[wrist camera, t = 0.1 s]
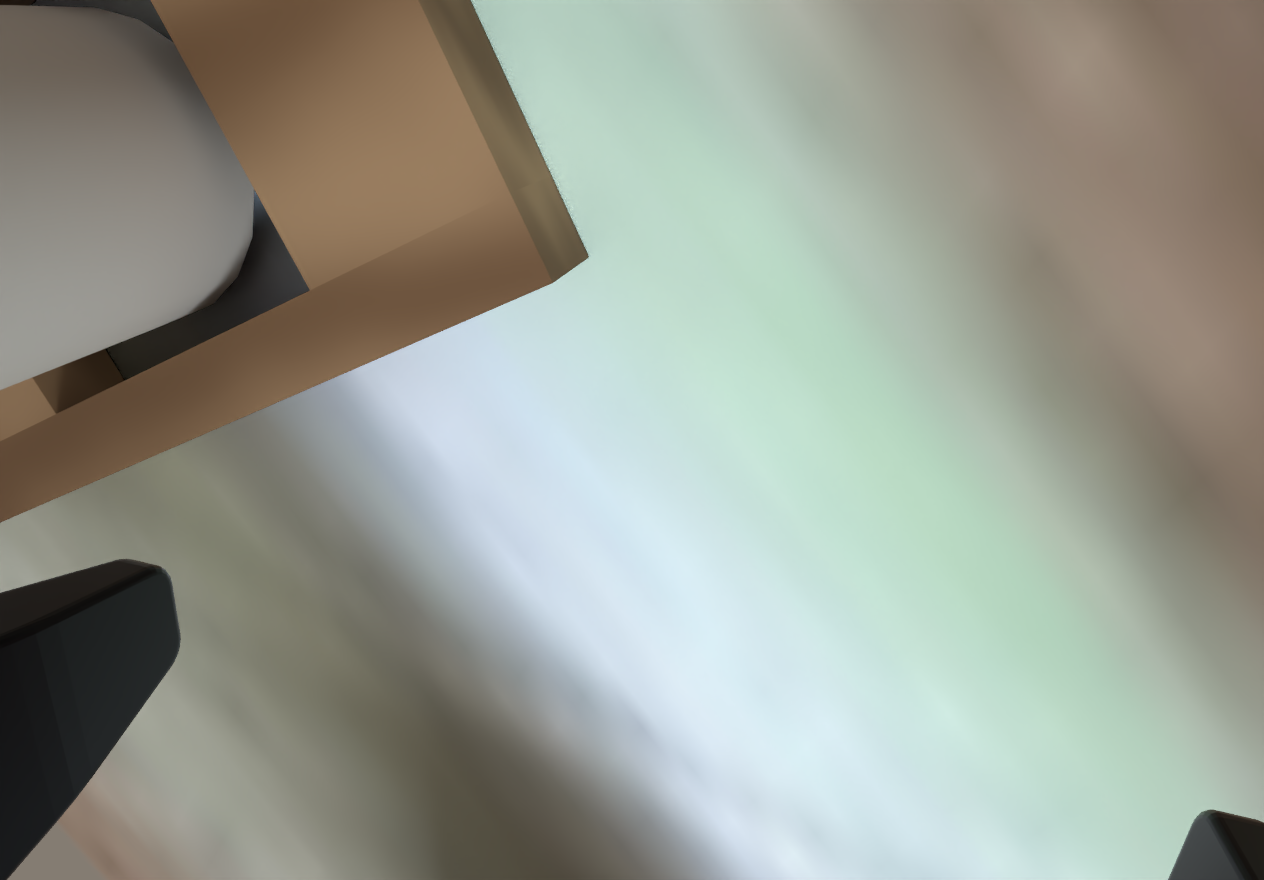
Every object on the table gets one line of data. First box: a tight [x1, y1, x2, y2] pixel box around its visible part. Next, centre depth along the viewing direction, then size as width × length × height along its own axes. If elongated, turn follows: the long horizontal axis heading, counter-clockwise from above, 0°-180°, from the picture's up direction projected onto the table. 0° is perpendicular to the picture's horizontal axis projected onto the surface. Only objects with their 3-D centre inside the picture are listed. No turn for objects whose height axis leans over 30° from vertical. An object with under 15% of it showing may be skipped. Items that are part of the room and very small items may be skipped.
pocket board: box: [0, 0, 589, 522], centre depth 23 cm, size 14×20×2 cm
